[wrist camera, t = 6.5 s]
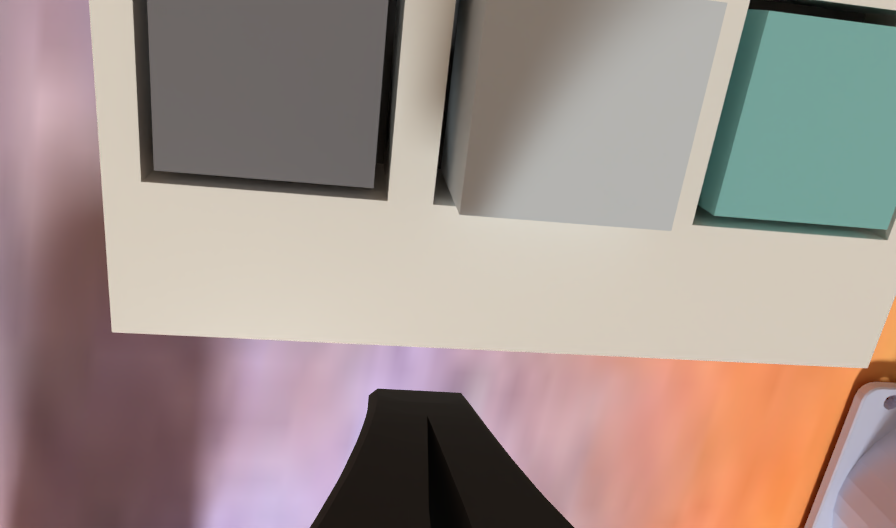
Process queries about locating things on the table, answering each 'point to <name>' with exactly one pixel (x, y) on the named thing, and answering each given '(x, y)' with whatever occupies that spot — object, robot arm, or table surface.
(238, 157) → the charcoal key
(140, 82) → the keypad
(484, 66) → the grey key
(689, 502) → the table surface
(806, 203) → the teal key
